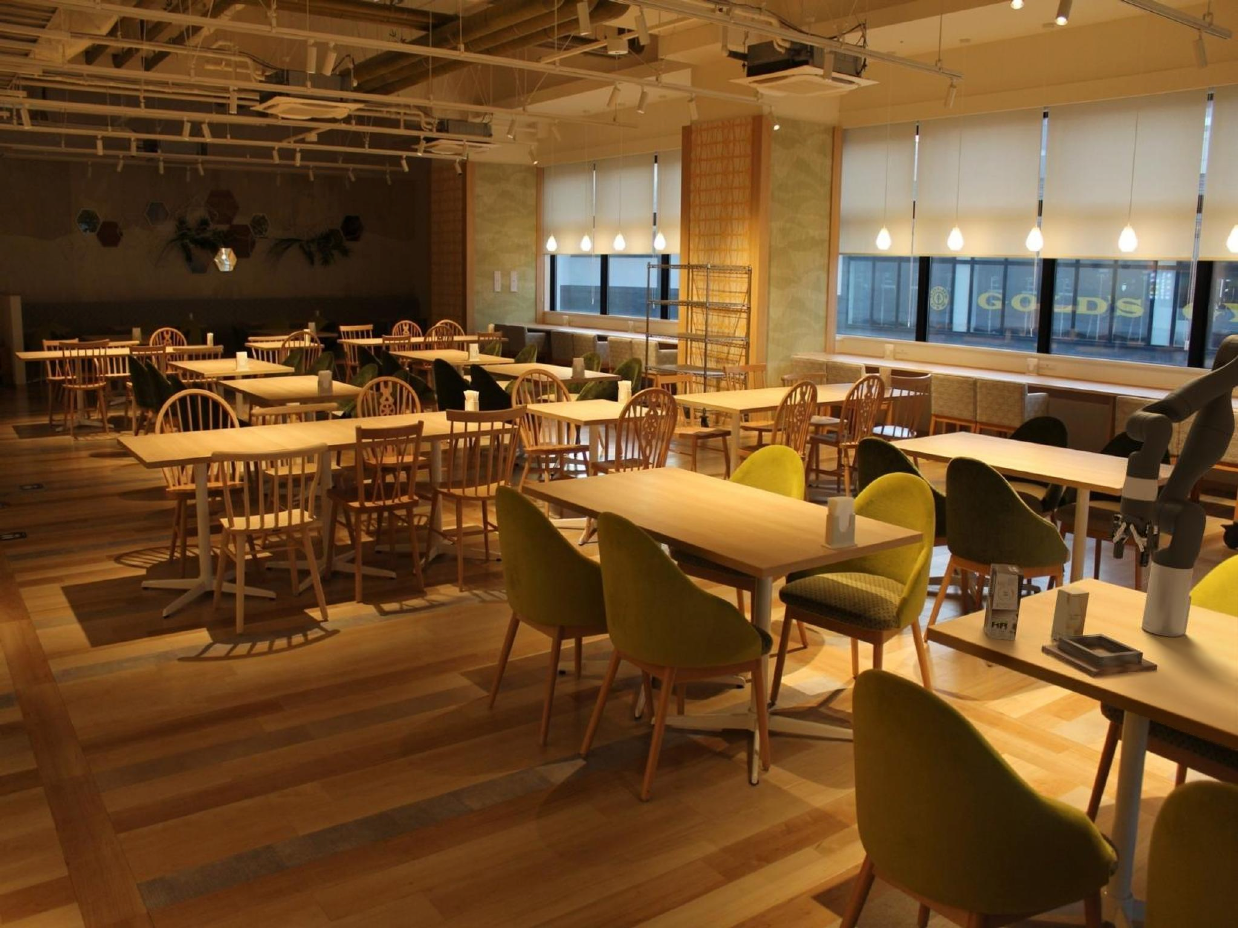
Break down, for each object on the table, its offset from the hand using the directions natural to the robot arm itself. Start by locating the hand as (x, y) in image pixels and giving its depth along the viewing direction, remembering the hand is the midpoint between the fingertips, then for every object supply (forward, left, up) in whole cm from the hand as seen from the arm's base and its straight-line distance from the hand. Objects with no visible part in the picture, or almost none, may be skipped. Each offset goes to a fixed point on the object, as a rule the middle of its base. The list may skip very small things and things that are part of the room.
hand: (1129, 562), depth 258 cm
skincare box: (+16, 0, -19) cm, 24 cm away
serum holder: (+19, +13, -18) cm, 29 cm away
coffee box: (+30, -7, -19) cm, 36 cm away
